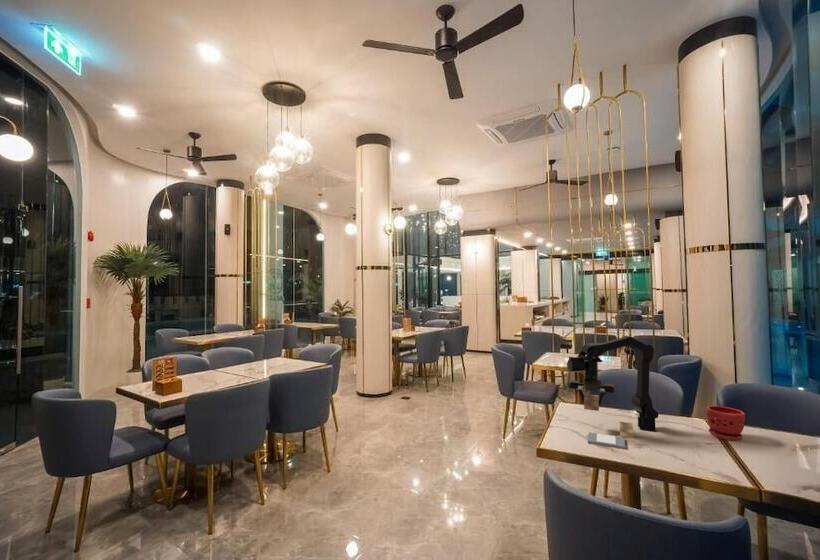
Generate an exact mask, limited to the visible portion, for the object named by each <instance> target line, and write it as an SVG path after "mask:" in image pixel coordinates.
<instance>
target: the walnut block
mask: <svg viewBox="0 0 820 560" xmlns="http://www.w3.org/2000/svg"><path fill="white" fill-rule="evenodd" d="M599 397H600V394H598V395H597V394H587V393H584V403H583V406H584V407H583V408H584V410H587V411H588V410H589V411H595V412H596V411H597V412H599V411H600V406H599Z"/></svg>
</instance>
